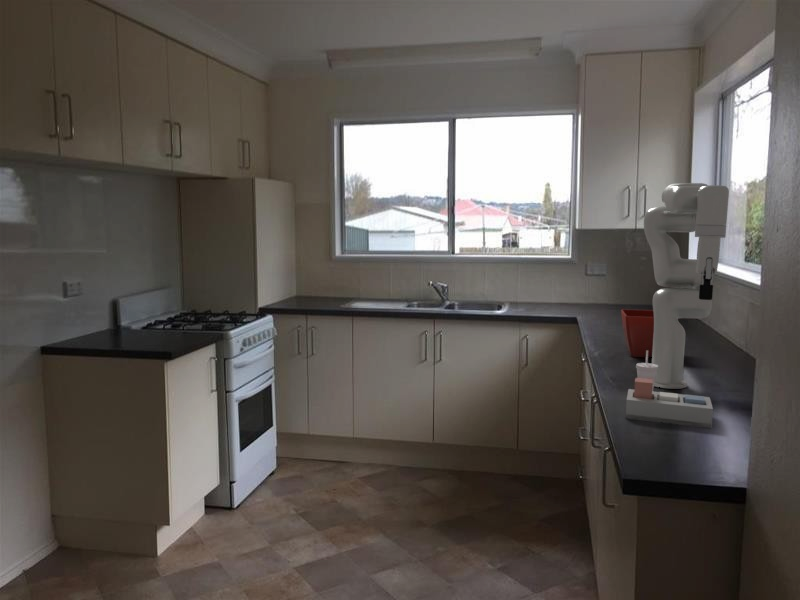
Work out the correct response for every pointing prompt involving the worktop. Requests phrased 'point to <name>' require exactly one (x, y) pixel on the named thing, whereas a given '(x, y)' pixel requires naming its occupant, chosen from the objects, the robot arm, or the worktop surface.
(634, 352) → the plant pot
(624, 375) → the worktop surface
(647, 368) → the smoothie
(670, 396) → the white key
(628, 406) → the keypad housing
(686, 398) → the blue key
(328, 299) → the worktop surface
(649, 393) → the red key
